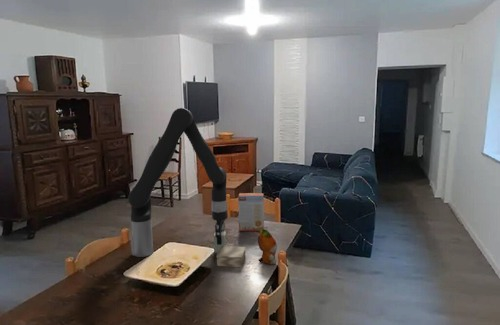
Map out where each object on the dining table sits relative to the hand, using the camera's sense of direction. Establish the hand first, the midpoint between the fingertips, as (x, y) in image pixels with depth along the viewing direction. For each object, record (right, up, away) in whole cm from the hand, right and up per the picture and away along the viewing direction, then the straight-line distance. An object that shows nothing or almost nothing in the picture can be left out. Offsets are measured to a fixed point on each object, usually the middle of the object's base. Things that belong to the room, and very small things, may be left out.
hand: (220, 240), depth 178 cm
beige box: (+6, -7, -11) cm, 14 cm away
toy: (+22, -7, -11) cm, 26 cm away
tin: (0, -5, +1) cm, 5 cm away
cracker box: (+15, 0, +29) cm, 33 cm away
